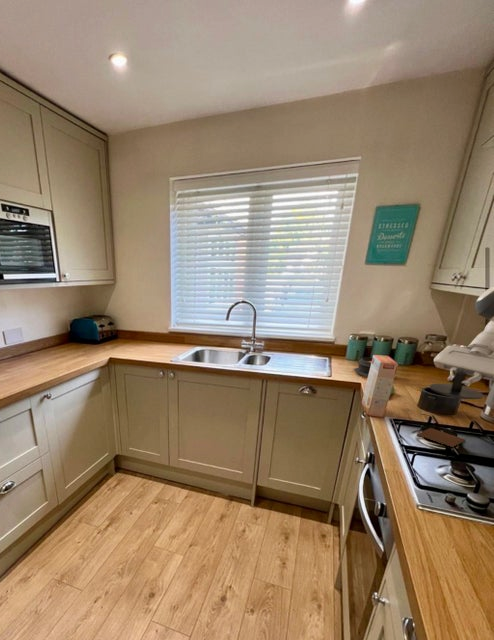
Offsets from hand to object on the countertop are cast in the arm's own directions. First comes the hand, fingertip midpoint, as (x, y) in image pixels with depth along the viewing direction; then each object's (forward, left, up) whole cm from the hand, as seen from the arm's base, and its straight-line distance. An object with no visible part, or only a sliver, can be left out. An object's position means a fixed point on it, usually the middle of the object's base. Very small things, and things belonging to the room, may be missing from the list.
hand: (457, 383), depth 101 cm
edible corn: (+31, -28, -19) cm, 46 cm away
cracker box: (+25, -6, -19) cm, 32 cm away
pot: (+11, -26, -19) cm, 34 cm away
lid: (0, -1, -3) cm, 3 cm away
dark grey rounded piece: (+53, -58, -19) cm, 80 cm away
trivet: (0, -1, -19) cm, 19 cm away
